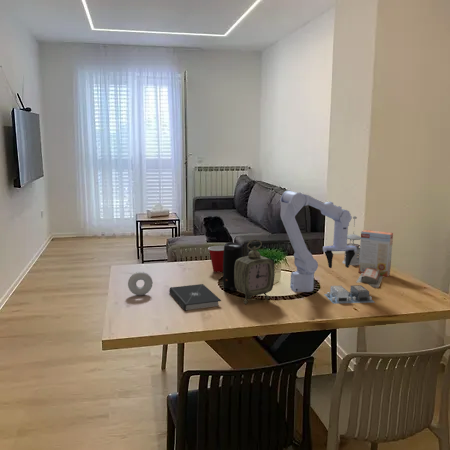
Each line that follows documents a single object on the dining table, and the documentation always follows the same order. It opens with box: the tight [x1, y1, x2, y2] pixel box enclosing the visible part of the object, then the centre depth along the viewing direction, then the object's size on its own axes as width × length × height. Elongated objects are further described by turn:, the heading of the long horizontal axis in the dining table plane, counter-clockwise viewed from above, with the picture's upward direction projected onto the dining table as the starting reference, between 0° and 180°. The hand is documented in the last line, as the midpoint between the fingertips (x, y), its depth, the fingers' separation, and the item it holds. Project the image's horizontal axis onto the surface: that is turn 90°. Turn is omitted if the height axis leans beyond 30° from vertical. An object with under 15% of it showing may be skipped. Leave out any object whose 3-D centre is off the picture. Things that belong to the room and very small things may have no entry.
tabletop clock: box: [234, 238, 275, 305], centre depth 189 cm, size 14×9×25 cm, turn 122°
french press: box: [341, 215, 361, 266], centre depth 249 cm, size 10×12×25 cm
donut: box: [127, 271, 153, 296], centre depth 194 cm, size 10×3×10 cm, turn 106°
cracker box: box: [358, 229, 394, 278], centre depth 229 cm, size 14×6×21 cm, turn 58°
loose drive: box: [349, 284, 370, 302], centre depth 192 cm, size 4×8×4 cm, turn 7°
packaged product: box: [355, 268, 384, 289], centre depth 219 cm, size 18×5×10 cm
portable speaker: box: [222, 242, 244, 292], centre depth 203 cm, size 9×9×20 cm
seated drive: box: [330, 285, 350, 302], centre depth 191 cm, size 4×8×4 cm, turn 7°
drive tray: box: [323, 291, 375, 305], centre depth 192 cm, size 17×11×3 cm, turn 97°
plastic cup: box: [207, 245, 225, 273], centre depth 230 cm, size 11×11×12 cm
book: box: [168, 283, 222, 312], centre depth 190 cm, size 22×15×3 cm
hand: (338, 267), depth 206 cm, fingers open, 7 cm apart
